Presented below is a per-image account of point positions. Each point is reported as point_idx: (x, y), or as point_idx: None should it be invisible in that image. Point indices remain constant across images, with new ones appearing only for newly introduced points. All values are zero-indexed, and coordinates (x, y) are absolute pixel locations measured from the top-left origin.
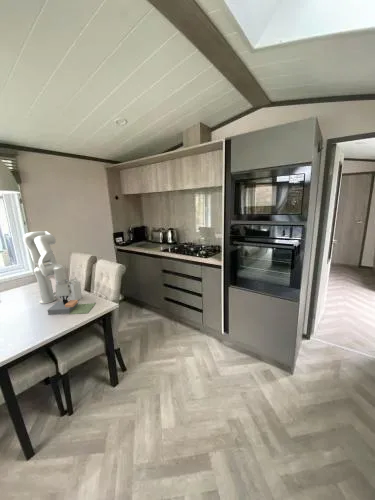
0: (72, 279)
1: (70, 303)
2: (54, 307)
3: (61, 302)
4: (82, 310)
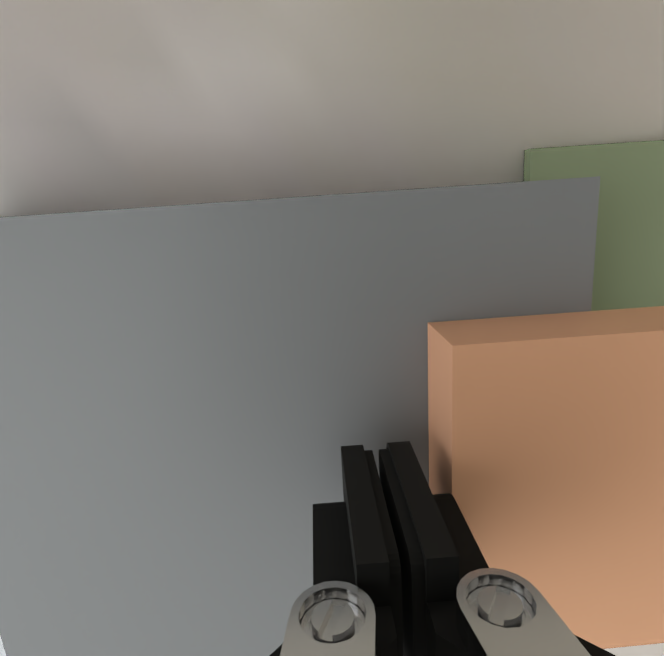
0: None
1: (590, 581)
2: (119, 607)
3: (98, 312)
4: None
